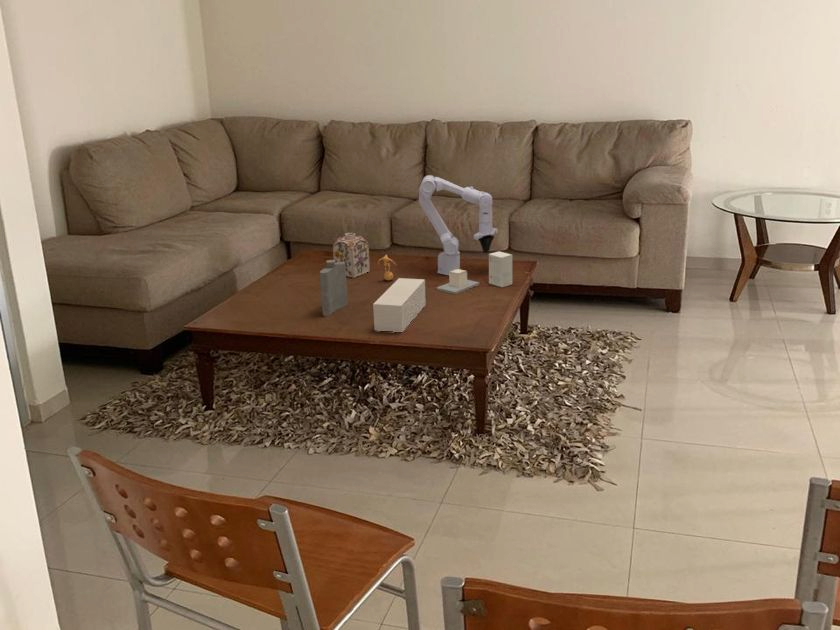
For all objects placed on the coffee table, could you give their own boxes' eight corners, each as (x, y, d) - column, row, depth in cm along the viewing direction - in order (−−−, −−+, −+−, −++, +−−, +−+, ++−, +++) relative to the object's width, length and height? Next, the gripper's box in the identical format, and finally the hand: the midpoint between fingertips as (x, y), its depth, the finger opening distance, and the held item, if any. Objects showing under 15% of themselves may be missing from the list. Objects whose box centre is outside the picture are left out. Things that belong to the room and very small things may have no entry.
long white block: (399, 303, 353) (398, 278, 349) (425, 305, 350) (424, 279, 347) (374, 331, 324) (373, 303, 320) (402, 333, 321) (401, 305, 318)
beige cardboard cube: (449, 285, 370) (449, 271, 368) (457, 282, 373) (457, 268, 371) (459, 287, 366) (458, 273, 364) (467, 284, 370) (466, 270, 368)
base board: (436, 289, 368) (436, 287, 367) (460, 280, 379) (460, 278, 379) (455, 294, 361) (455, 291, 361) (479, 284, 373) (479, 282, 372)
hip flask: (328, 316, 340) (324, 266, 334) (319, 315, 342) (315, 265, 335) (349, 304, 354) (346, 256, 347) (340, 303, 355) (337, 255, 349)
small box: (512, 284, 372) (512, 254, 367) (501, 287, 368) (501, 257, 363) (499, 280, 377) (499, 250, 373) (488, 283, 374) (488, 253, 369)
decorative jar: (350, 268, 402) (348, 229, 396) (370, 271, 395) (368, 232, 389) (333, 274, 393) (330, 235, 387) (353, 278, 386) (351, 238, 380)
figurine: (399, 279, 383) (398, 252, 379) (394, 283, 378) (393, 256, 374) (381, 278, 385) (380, 251, 381) (376, 282, 380) (375, 255, 376)
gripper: (482, 226, 373) (483, 257, 377) (503, 219, 383) (503, 250, 387) (469, 224, 377) (470, 254, 382) (490, 217, 387) (490, 247, 392)
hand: (485, 252), depth 385 cm, fingers closed
